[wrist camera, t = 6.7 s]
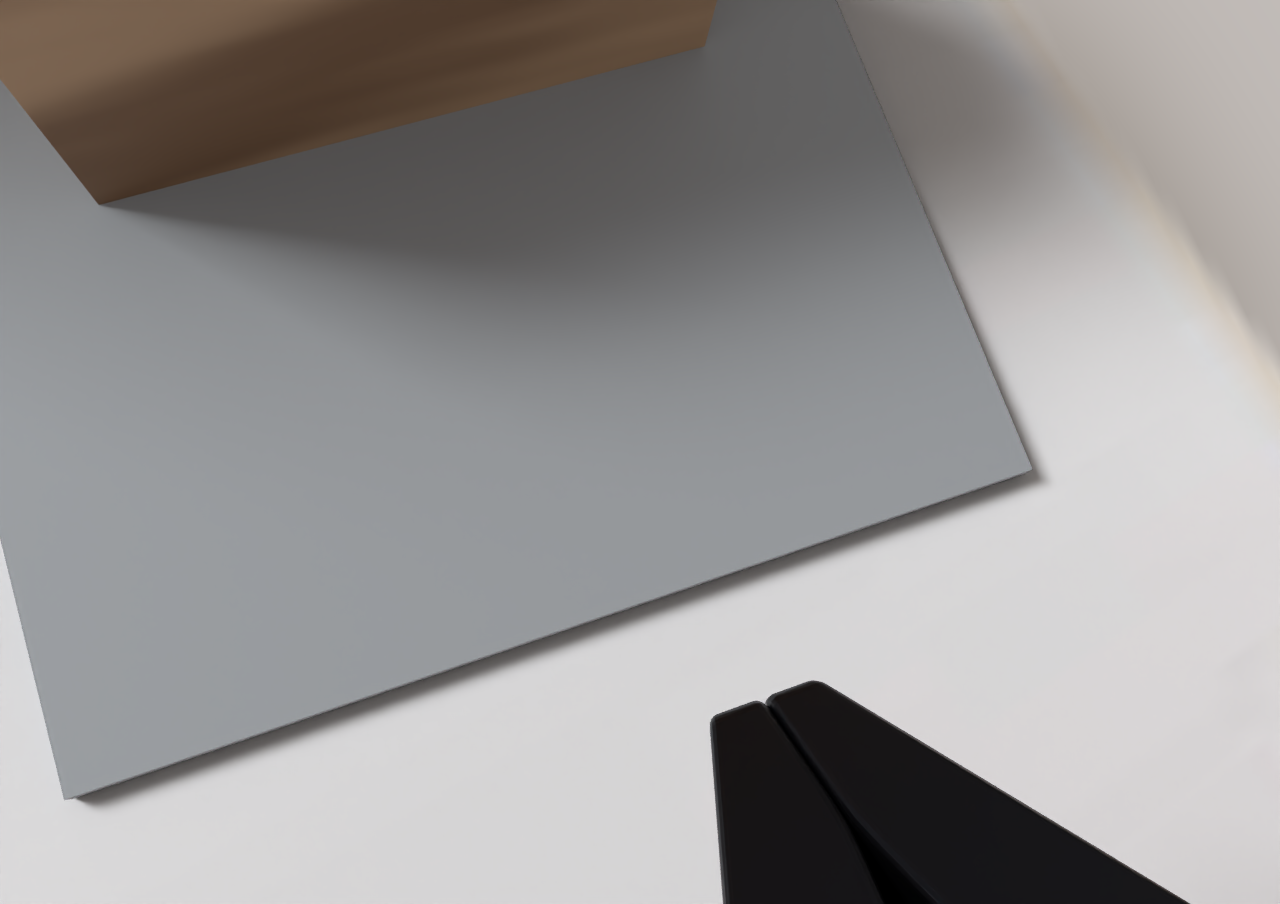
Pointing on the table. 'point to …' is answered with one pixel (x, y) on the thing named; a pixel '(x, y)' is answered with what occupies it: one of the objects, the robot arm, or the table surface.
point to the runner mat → (463, 385)
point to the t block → (295, 71)
